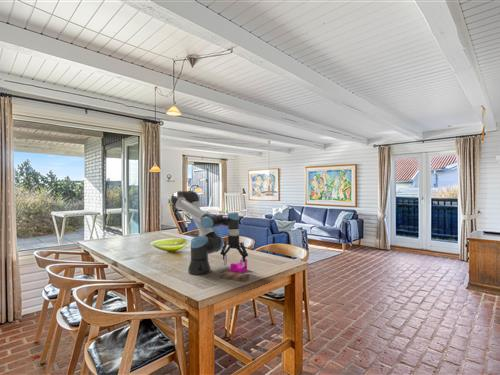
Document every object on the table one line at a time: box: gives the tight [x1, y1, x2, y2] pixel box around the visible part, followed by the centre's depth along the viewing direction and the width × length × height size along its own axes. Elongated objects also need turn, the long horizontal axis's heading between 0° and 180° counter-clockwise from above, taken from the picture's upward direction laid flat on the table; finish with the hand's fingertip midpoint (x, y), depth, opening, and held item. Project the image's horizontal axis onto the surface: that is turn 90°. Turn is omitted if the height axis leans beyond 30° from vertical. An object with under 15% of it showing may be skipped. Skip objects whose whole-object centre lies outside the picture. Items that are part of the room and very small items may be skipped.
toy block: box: [230, 258, 248, 273], centre depth 189 cm, size 15×6×8 cm, turn 150°
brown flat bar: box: [219, 270, 250, 282], centre depth 176 cm, size 17×7×2 cm, turn 66°
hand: (234, 265), depth 189 cm, fingers open, 13 cm apart
